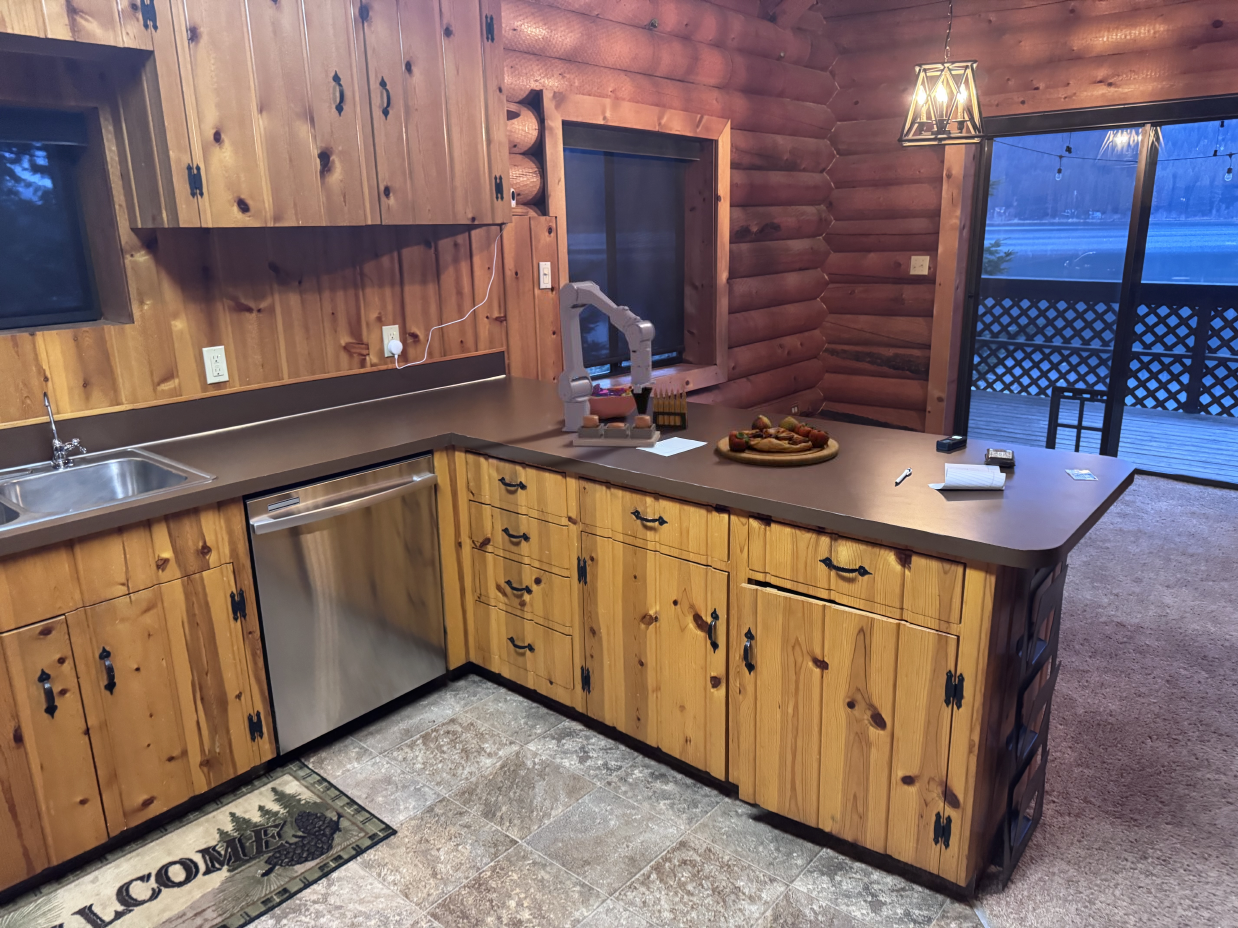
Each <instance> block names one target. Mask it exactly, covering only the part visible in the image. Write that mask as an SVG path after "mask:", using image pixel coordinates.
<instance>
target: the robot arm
mask: <svg viewBox="0 0 1238 928" xmlns="http://www.w3.org/2000/svg"><path fill="white" fill-rule="evenodd" d="M558 295H559V296H558V297H559V319H560V320H559V321H560V327H561V329H560V331H561V341H562V348H563V349H562V350H563V359H564V370H563V371H562V372H561V373H560V374H559V376H558V386H557V393H558V396H559V398H560V399H561V400H562V402H563V405H564V421H565V422H564V424H565V426H564V427H563V428H562V429H561V432H578V428H579V427H580V426H581V425H582V424H583V416H586V415H590V404H589V402H588V399H590V395H591V394H592V392H593V386H594V384H593V381H592V379H591V374H590V373H591V372H589V371H588V370H587V369H586V368H585V367H584V360H583V359H584V358H583V349H582V347H583V346H582V339H581V338H582V337H581V336H582V335H581V325H580V316H579V315H580V314H581V312H582V311H583V310H584V308H587V307H588V306H589V305H593V306H594V307H596V308H597V309H598V310H600V311H601V312H602V313H604V314H606V315H607V316H608V317H609V321H610V323H611V324H612V325H613V326H615V327H616V328H617V329H619V330H620V331H621V332H622V333H623V334H624V336H625V339H626V341H627V342H628V348H629V351H630V353H629V354H630V385H631V386H632V388H630V389H631V393H632V395H633V397H634V399H635V402H636V410H637V414H638V415H646V414H647V412H648V407H649V400H650V397H651V393H652V391H653V390H654V387H652V386H651V385H656V384H657V380H653V378H652V377H653V375H652V374H653V373H652V341H653V340H654V339H655V336H656V330H655V325H654V324H653V323H652V322H651V321H650V320H642V319H641V317H640V316H637V315H635V314H634V313H633V312H632V311H630V307H628V306H627V305H626V306H623V305H620V306H617V305H616V304H615V303H614V302H613V301H612V300H611V299H610V298H608V297H607V296H606V294H604V293H603V292H602V291H601V290H600V286H599V285H598V284H596V283H595V282H593V281H592V280H585V281H576V282H566V283H564V284H563V285H562V287H560V289H559V290H558Z"/></svg>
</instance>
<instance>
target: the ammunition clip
mask: <svg viewBox="0 0 1238 928" xmlns="http://www.w3.org/2000/svg"><path fill="white" fill-rule="evenodd" d="M653 390H654V391H653V401H652V424H655V429H668V430H669V429H671V430H688V428H689V422H688V421H689V420H688V407H687V406H688V403H687V395H686V390H685V388H683V389H682V393H680V389H679V388H677V390H676V395H675V392H674V389H673V388H672V389H670V394H669V391H668V390H669V389H668V388H666V389H665V390H664V391H665V392H664V391H663V389H662V388H660V389H659V393H658V390H657V388H654V389H653ZM669 395H670V396H669Z"/></svg>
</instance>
